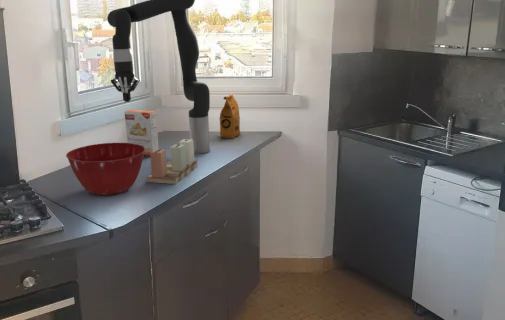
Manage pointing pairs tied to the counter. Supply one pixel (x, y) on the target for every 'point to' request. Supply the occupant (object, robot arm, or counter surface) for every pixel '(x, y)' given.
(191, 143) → the grey rectangular block
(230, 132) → the coffee package
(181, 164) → the grey green block
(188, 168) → the board
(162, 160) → the key
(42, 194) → the counter surface
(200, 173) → the counter surface
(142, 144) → the cracker box
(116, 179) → the mixing bowl
